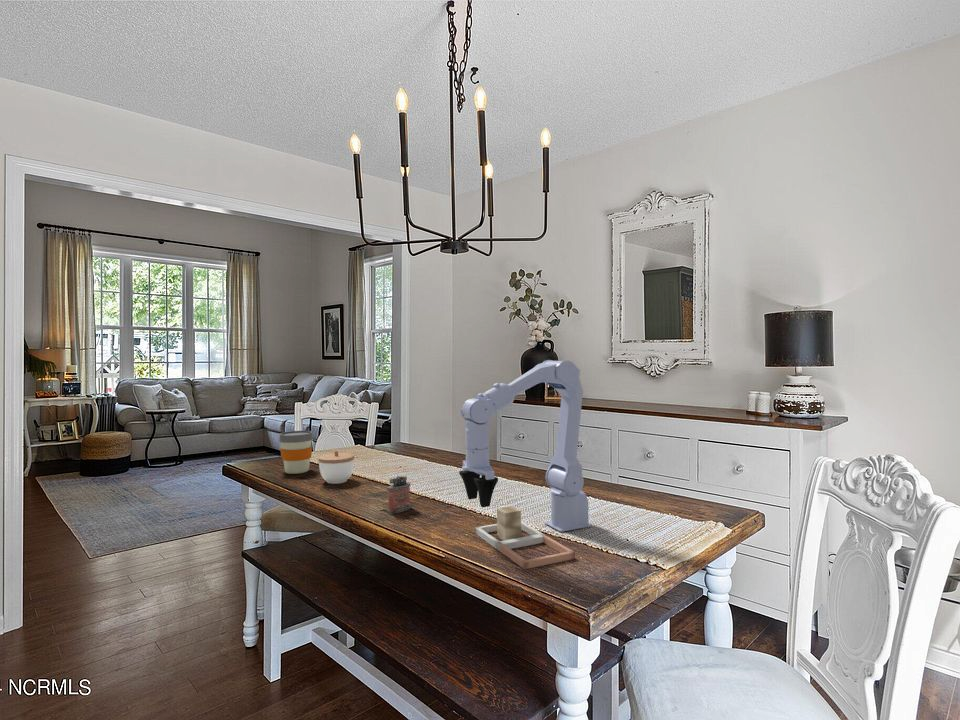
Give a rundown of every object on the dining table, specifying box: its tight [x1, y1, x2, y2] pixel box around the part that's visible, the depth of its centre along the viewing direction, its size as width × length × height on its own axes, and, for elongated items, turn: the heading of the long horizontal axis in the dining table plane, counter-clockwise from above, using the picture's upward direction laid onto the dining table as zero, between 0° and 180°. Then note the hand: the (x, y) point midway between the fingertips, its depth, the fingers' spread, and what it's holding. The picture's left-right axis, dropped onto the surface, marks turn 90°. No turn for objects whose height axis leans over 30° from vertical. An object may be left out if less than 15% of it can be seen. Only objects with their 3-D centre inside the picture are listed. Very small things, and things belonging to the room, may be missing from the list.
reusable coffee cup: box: [278, 430, 313, 475], centre depth 220 cm, size 13×13×15 cm
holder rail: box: [474, 520, 576, 570], centre depth 135 cm, size 13×26×2 cm, turn 25°
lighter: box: [386, 475, 412, 515], centre depth 166 cm, size 8×3×10 cm, turn 141°
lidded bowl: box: [317, 450, 355, 485], centre depth 202 cm, size 13×13×11 cm
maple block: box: [496, 505, 522, 541], centre depth 141 cm, size 4×4×7 cm
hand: (478, 502), depth 138 cm, fingers open, 7 cm apart
